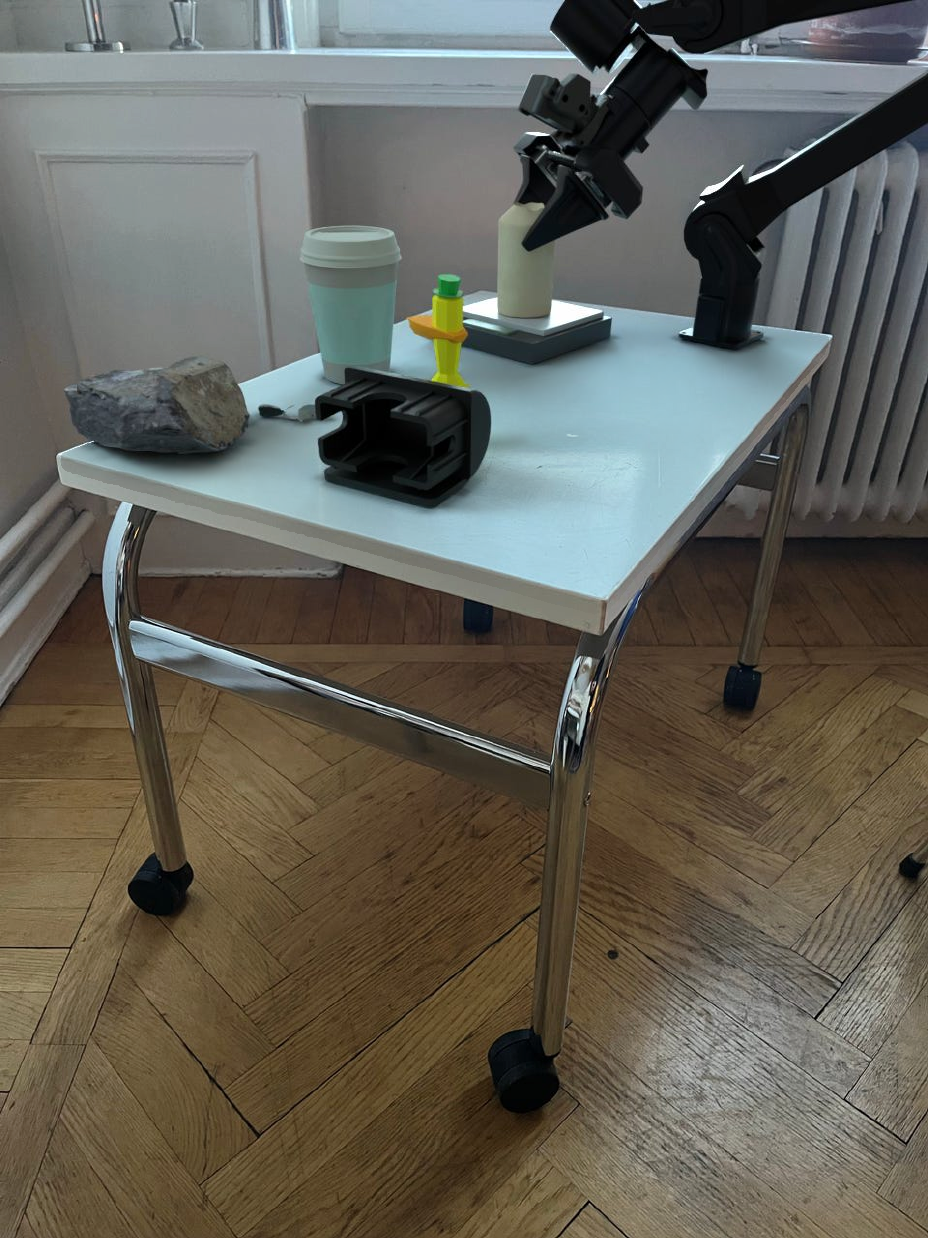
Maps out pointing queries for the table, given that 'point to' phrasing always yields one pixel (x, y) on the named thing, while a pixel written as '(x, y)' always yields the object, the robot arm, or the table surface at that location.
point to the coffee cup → (352, 295)
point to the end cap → (403, 435)
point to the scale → (533, 331)
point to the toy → (272, 411)
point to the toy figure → (444, 329)
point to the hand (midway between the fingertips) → (513, 242)
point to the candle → (523, 266)
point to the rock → (161, 407)
